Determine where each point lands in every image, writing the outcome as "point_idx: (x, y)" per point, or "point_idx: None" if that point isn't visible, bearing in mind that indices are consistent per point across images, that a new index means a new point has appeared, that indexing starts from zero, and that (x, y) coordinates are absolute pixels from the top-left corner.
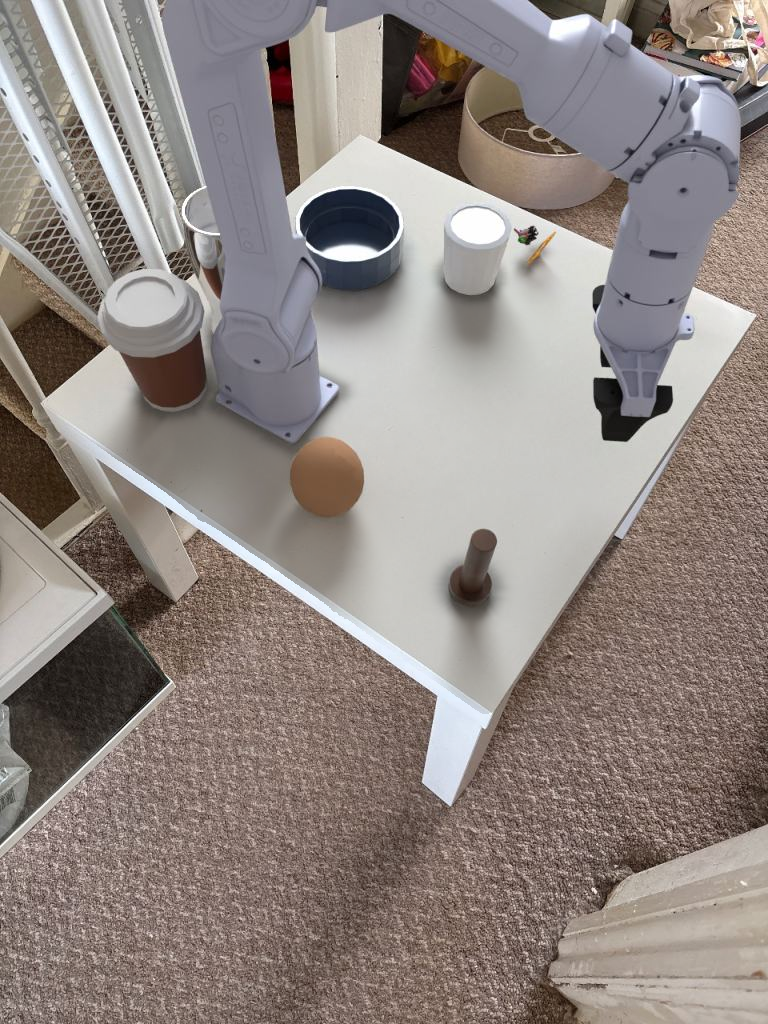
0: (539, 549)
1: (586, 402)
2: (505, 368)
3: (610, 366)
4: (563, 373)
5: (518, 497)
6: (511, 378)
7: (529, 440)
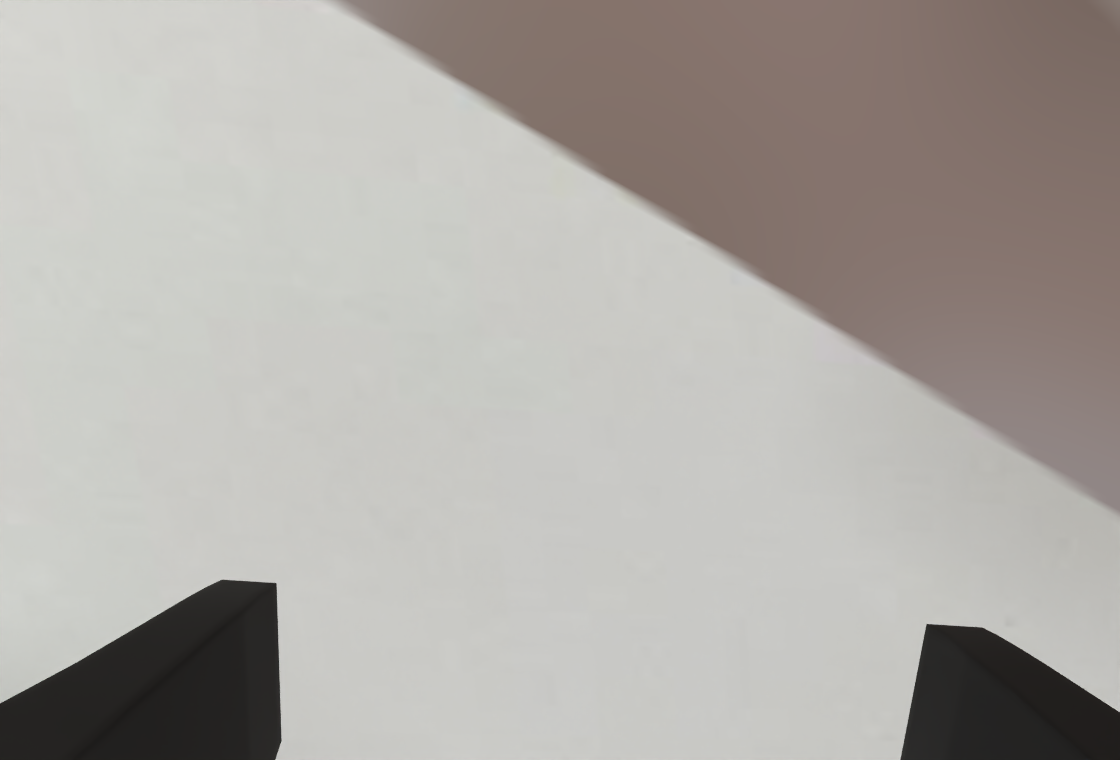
0: None
1: (235, 416)
2: None
3: (274, 690)
4: (83, 510)
5: (758, 714)
6: None
7: (474, 666)
